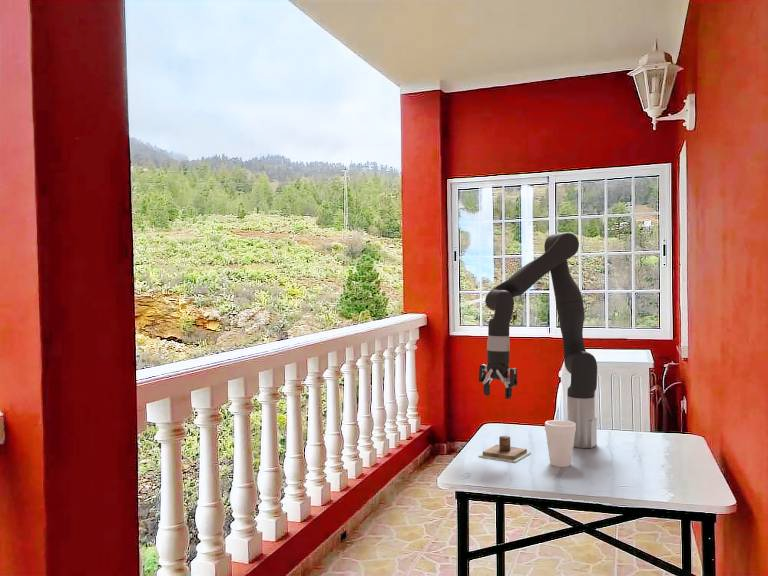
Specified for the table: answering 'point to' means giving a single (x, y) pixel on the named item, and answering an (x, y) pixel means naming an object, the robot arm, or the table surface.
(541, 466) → the table surface
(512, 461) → the mat
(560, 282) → the robot arm
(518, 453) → the lid
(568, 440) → the foam cup
